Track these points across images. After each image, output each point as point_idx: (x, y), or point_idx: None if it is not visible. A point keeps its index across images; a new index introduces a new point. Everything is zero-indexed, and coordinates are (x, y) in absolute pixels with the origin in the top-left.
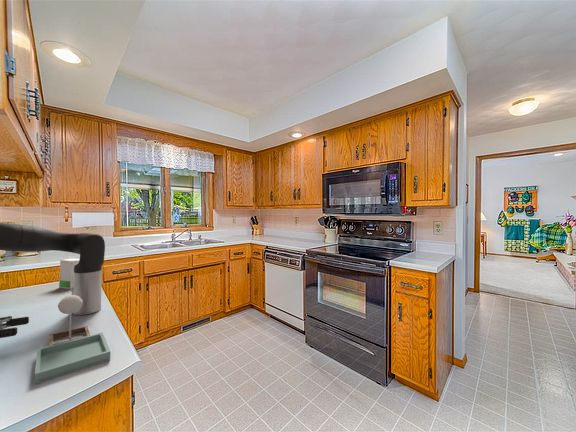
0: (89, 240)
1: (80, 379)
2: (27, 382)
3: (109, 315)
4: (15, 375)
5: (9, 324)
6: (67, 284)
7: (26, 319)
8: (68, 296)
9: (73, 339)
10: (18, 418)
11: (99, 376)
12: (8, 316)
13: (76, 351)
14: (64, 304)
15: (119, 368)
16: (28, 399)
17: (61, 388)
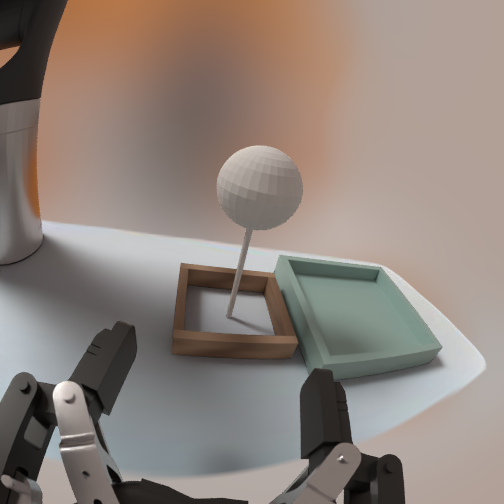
0: None
1: (420, 313)
2: (422, 375)
3: (100, 231)
4: (394, 405)
5: (97, 416)
6: None
7: (131, 337)
8: (278, 151)
9: (279, 298)
10: (481, 358)
11: (415, 297)
12: (19, 386)
13: (334, 308)
14: (301, 187)
15: (398, 279)
16: (458, 359)
17: (438, 330)
